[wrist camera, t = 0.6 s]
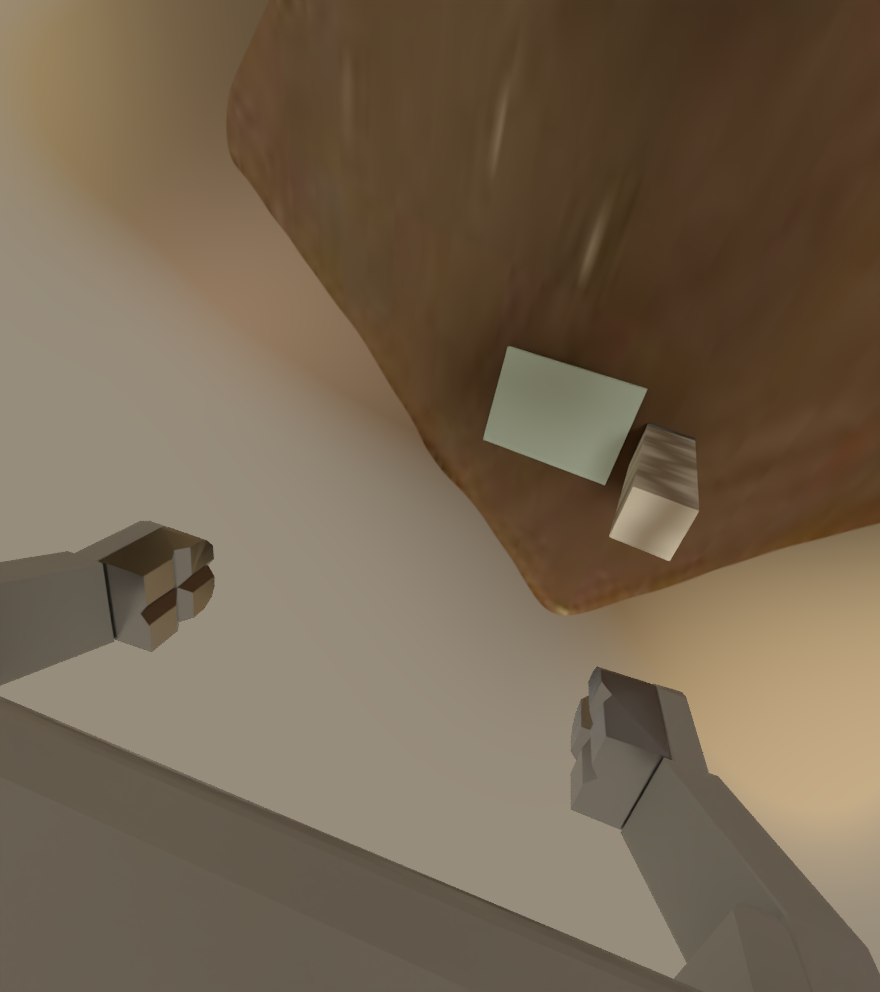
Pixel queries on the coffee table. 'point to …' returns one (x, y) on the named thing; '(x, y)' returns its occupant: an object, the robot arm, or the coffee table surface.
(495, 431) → the sage mat
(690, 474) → the maple block
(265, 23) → the coffee table surface
